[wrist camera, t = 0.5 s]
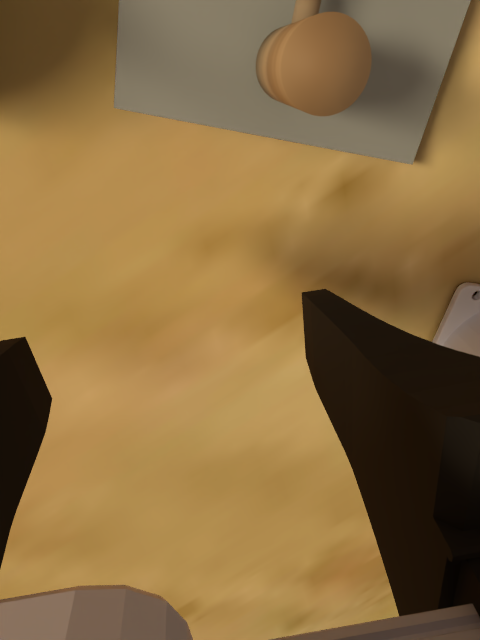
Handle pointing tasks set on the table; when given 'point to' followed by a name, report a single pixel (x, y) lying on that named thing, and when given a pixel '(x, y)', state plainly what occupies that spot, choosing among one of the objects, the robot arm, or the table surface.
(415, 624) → the robot arm
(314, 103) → the block
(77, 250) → the table surface
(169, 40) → the lane shelf
